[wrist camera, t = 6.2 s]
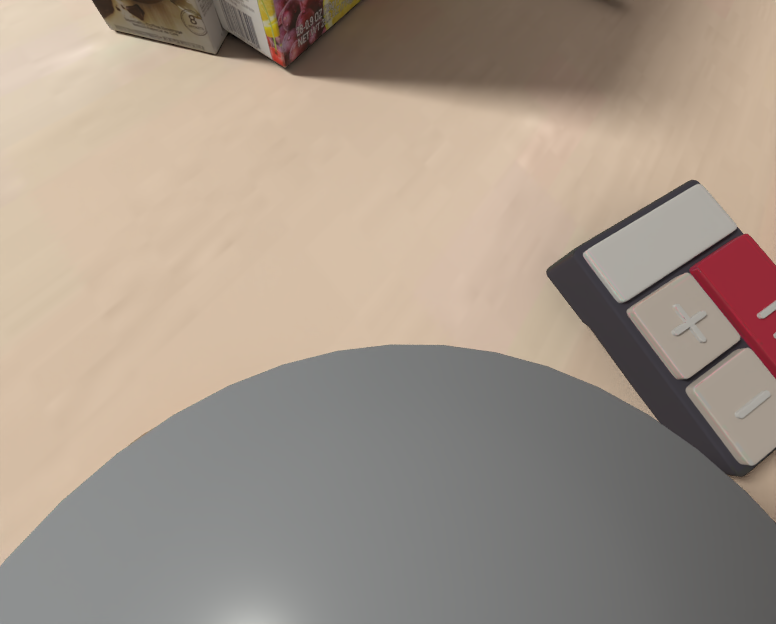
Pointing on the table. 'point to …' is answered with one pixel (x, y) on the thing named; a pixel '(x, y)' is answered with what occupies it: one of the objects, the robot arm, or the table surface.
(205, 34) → the coffee box
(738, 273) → the calculator
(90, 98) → the table surface
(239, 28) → the snack box
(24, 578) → the grey cylinder
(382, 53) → the table surface
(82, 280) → the table surface
